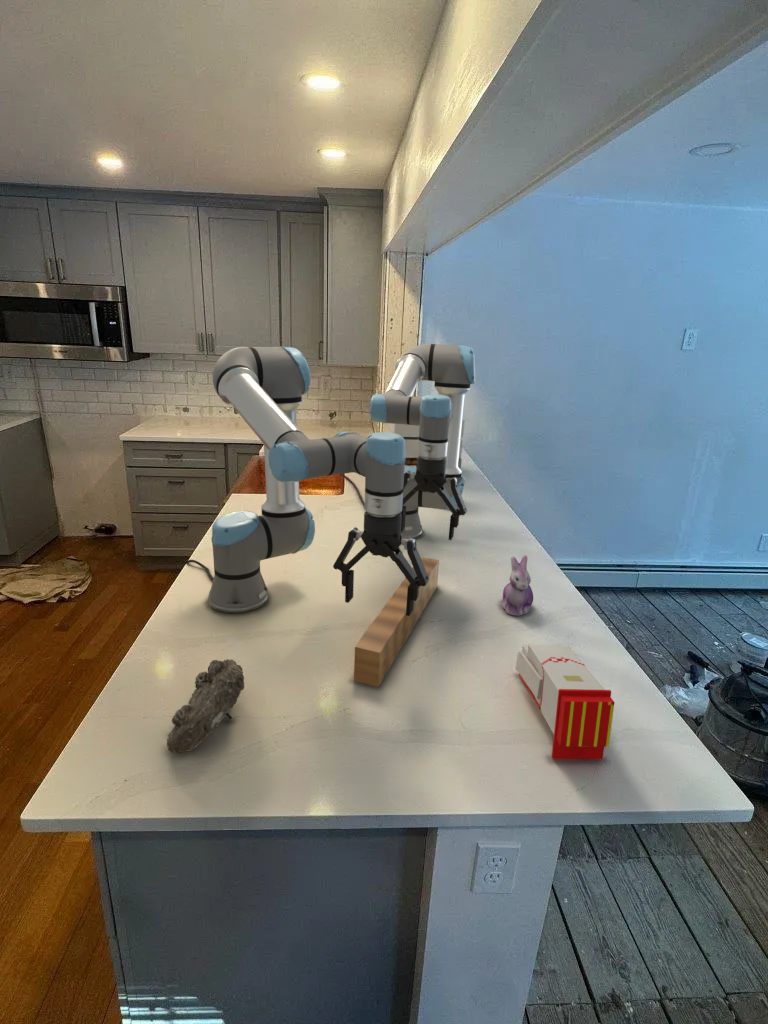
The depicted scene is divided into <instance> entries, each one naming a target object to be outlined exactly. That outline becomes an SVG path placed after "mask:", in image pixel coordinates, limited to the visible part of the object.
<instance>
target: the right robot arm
mask: <svg viewBox="0 0 768 1024" xmlns="http://www.w3.org/2000/svg"><path fill="white" fill-rule="evenodd" d="M475 359H476V357H475V350H474V348H473V347H471V346H468V345H461V344H443V343H442V344H441V343H439V344H438V343H423V344H418V345H415V346H413V347H411V348H409V349H408V350H406V351H405V352H403V353H402V354H401V356H400V357H398V360H397V361H396V363H395V365H394V366H395V368H394V371H395V372H394V374H393V376H392V378H391V380H390V382H389V384H388V386H387V388H386V391H385V392H384V393H380V394H379V393H376V394H373V395H372V396H371V399H370V405H369V416H370V419H371V421H373V422H374V423H381V424H387V423H391V424H406V425H417V426H419V439H418V455H419V456H418V458H417V466H405V469H404V484H403V502H402V511H401V512H400V513H401V514H402V520H401V537H402V539H410V538H411V537H414V538H415V539H418V538H420V537H421V536H422V535H423V525H422V524H421V518H420V515H419V508H427V509H437V510H443V511H447V510H448V511H450V512H451V515H450V516H449V517H450V518H449V529H448V540H449V541H452V539H453V538H454V536H455V535H454V534H455V528H456V529H457V528H458V526H459V522H460V516H465V515H466V514H467V511H468V509H467V506H466V504H465V501H464V499H463V493H464V492H463V491H464V486H465V483H466V477H465V476H462V475H463V474H462V473H463V471H462V469H461V470H460V469H459V467H458V460H459V449H460V439H461V440H462V438H461V428H462V419H463V418H464V417H463V416H464V415H463V414H464V406H465V405H464V404H465V396H466V394H467V393H468V392H469V391H470V390H471V385H474V384H475V383H476V360H475ZM421 381H428V382H434V386H433V387H434V389H435V391H437V393H438V394H425V395H423V396H418V397H417V396H415V397H412V396H413V395H414V393H415V391H416V388H417V385H418V383H419V382H421ZM339 475H340V476H342V477H344V478H345V479H346V480H348V481H349V482H350V483H351V484H352V486H353V487H354V489H355V490H356V493H357V494H358V497H359V499H360V502H361V503H362V505H363V507H365V500H364V499H363V497H362V495H361V493H360V490H359V488H358V487H357V485H356V484H355V483H354V481H352V480H351V479H350V478H349V477H348V476H347V475H345V474H339Z"/></svg>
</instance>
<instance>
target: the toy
mask: <svg viewBox="0 0 768 1024" xmlns="http://www.w3.org/2000/svg"><path fill="white" fill-rule="evenodd" d="M521 649H522V650H520V649H518V651H517V658H516V664H515V670H516V671H517V672H518V677H519V678H520V680H521V681H522V683H523V685H524V686H525V688H526V689H527V691H528V692H529V694H530V695H531V698H533V700H534V702H535V703H536V705H537V707H538V708H539V709H540V712H541V714H542V716H543V718H544V719H545V721H546V723H547V725H548V727H549V728H550V730H551V732H552V735H553V738H552V739H553V741H552V750H551V759H552V760H597V761H598V760H604V754H605V753H604V752H605V748H609V747H610V742H611V734H612V726H613V725H612V724H613V718H614V710H615V701H614V700H613V698H612V690H611V689H605V688H604V687H603V686H602V684H601V683H600V682H599V681H598V679H597V678H596V677H595V676H594V674H593V673H592V672H591V670H590V669H589V668H588V667H587V665H586V664H585V663H584V662H583V660H582V659H581V658H580V657H579V656H578V654H577V653H576V652H575V650H574V649H573V648H572V647H571V646H570V644H548V643H547V644H545V643H544V644H543V643H541V644H540V643H528V644H522V648H521Z"/></svg>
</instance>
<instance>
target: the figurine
mask: <svg viewBox="0 0 768 1024" xmlns="http://www.w3.org/2000/svg"><path fill="white" fill-rule="evenodd" d="M528 559H529V558H528V555H523V556H522V558H521V560H520V562H519V561H518V560H517V558H516V557H515V556H514V555H512V556H511V558H510V561H511V573H510V575H509V579H508V580H509V582H508V583H507V584H505V586H504V587H503V590H502V598H501V607H502V608H503V610H505V612H506V613H507V614H508V615H512V616H515V617H516V616H518V617H519V616H522V615H526V614H528V613H529V612H530V611H531V608H532V605H533V603H534V592H533V589H532V587H531V585H530V584H531V575H530V573H529V571H528V568H527V566H528Z"/></svg>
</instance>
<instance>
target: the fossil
mask: <svg viewBox="0 0 768 1024" xmlns="http://www.w3.org/2000/svg"><path fill="white" fill-rule="evenodd" d="M243 670H244V669H243V667H242V665H240V664H237V662H236V661H235V660H234V659H232V658H231V659H227V658H226V659H224V660H223V661H222V660H217V659H212V660H211V661H210V663H209V665H208V666H207V671H201V672H199V673H198V674H197V675H196V676H195V680H194V684H195V685H194V687H195V689H194V690H193V693H192V694H191V697H190V698H189V700H188V704H184V705H182V706H181V707H180V709H177V710H176V711H175V713H174V715H173V716H172V718H171V723H172V724H173V727H172V730H171V731H170V732H168V734H167V738H166V741H167V742H166V745H167V749H168V750H169V751H173V752H174V753H176V754H178V753H182V752H188V751H189V752H192V751H193V750H195V748H196V747H197V746H199V744H200V743H201V742H203V741H204V740H205V739H206V738H207V737H208V736H209V735H210V734H211V733H212V732H214V730H215V729H217V727H218V726H219V724H220V722H221V721H222V720H223V719H224V718H225V716H226V717H227V719H229V720H233V717H232V715H230V714H229V710H230V709H231V708H234V706H235V704H236V703H237V702H238V699H239V697H240V695H241V693H242V691H243V690H245V689H244V688H245V675H244V671H243Z"/></svg>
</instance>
